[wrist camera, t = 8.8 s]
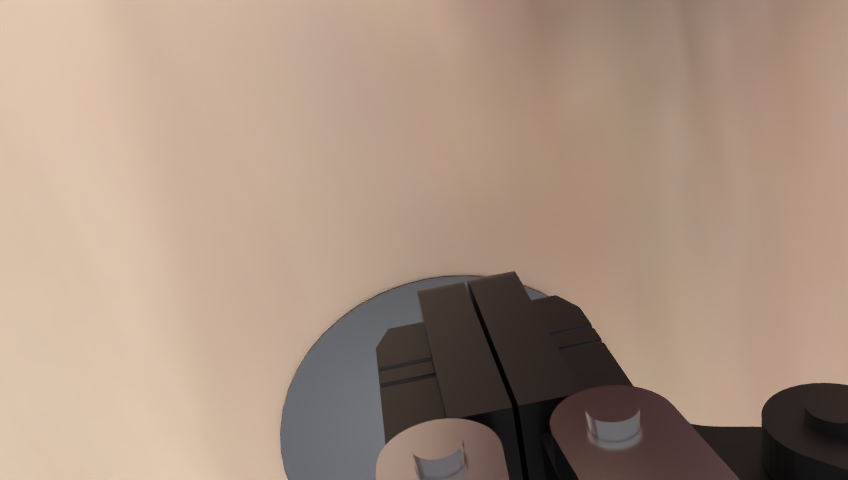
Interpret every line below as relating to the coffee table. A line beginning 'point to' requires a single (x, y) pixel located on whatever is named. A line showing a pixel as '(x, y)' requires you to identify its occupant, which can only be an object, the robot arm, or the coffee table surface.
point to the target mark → (347, 390)
